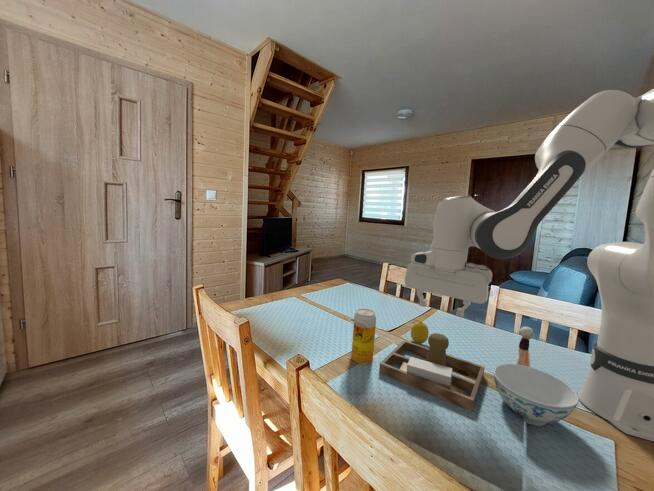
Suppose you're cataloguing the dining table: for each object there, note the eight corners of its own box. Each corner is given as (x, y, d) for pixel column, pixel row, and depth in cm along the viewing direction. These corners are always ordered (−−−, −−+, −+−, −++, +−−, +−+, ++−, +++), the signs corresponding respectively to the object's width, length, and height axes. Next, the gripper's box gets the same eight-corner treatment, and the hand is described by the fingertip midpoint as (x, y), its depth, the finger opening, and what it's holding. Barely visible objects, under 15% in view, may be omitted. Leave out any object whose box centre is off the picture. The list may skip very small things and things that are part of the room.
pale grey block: (451, 385, 70) (452, 376, 70) (449, 395, 66) (450, 386, 66) (402, 369, 76) (403, 362, 76) (398, 378, 72) (399, 369, 72)
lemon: (429, 349, 91) (432, 325, 90) (412, 348, 91) (414, 324, 90) (424, 340, 96) (426, 318, 95) (407, 339, 96) (410, 317, 95)
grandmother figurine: (532, 377, 78) (539, 333, 76) (515, 373, 80) (522, 330, 78) (526, 363, 85) (532, 323, 83) (511, 360, 87) (517, 320, 85)
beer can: (347, 364, 80) (351, 313, 78) (355, 354, 85) (359, 306, 83) (368, 370, 77) (372, 318, 75) (375, 360, 82) (379, 311, 80)
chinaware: (535, 393, 71) (540, 364, 70) (592, 443, 56) (599, 407, 55) (476, 391, 71) (480, 362, 69) (518, 441, 56) (524, 405, 55)
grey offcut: (451, 376, 70) (452, 368, 70) (449, 386, 66) (450, 377, 66) (410, 364, 74) (410, 356, 74) (406, 372, 71) (407, 364, 70)
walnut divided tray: (482, 380, 75) (484, 366, 75) (471, 417, 62) (473, 400, 61) (402, 352, 88) (404, 340, 87) (378, 377, 74) (379, 363, 74)
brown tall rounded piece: (448, 381, 74) (453, 342, 72) (424, 377, 75) (428, 338, 74) (444, 369, 80) (448, 332, 78) (421, 365, 81) (425, 329, 79)
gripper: (495, 265, 70) (486, 318, 72) (413, 252, 81) (408, 298, 83) (492, 268, 64) (483, 326, 66) (405, 254, 76) (399, 303, 78)
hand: (440, 310), depth 75 cm, fingers open, 8 cm apart
